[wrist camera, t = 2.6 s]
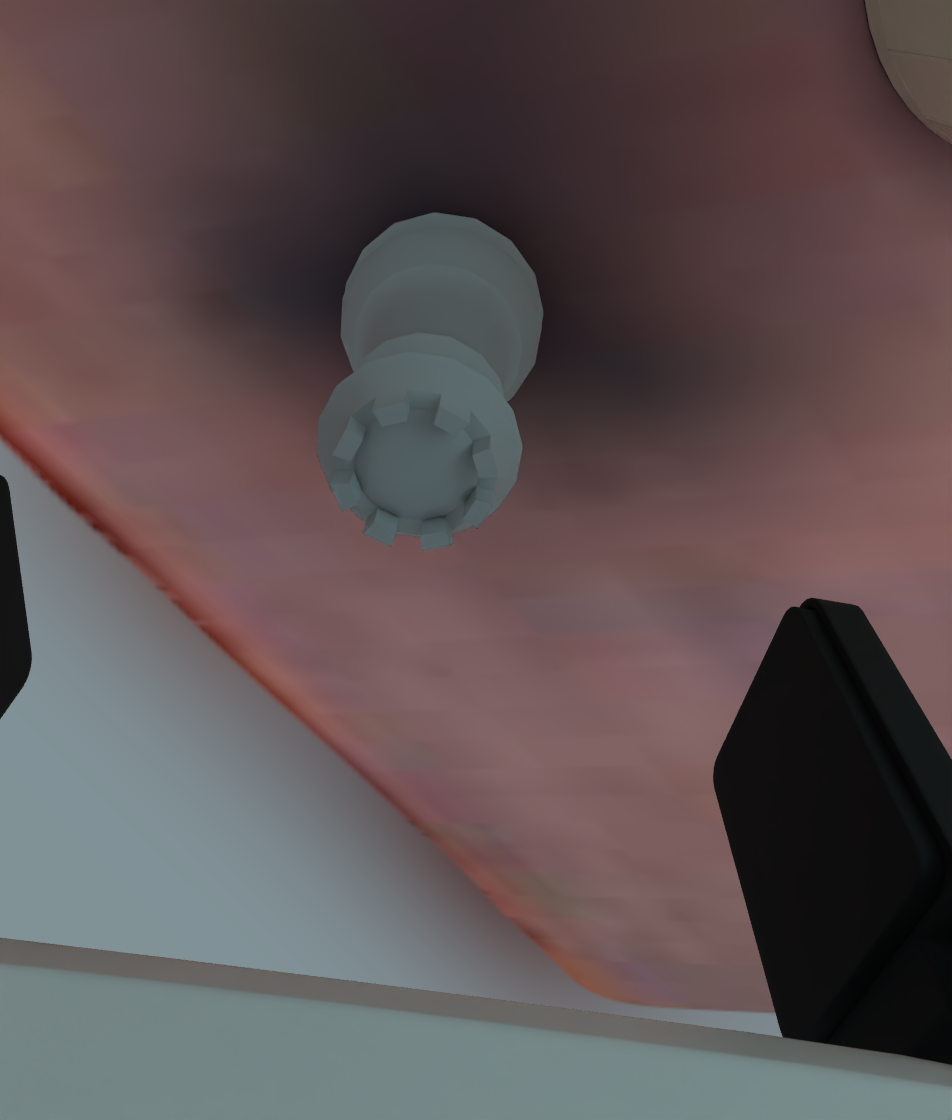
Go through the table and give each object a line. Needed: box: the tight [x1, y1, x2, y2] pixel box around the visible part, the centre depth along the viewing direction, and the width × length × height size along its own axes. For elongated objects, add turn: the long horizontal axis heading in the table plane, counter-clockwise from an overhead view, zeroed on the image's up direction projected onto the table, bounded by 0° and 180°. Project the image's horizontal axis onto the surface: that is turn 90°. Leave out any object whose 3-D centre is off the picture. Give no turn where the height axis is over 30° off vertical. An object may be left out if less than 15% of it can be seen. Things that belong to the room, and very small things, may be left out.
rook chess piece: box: [317, 212, 543, 551], centre depth 16 cm, size 4×4×8 cm
